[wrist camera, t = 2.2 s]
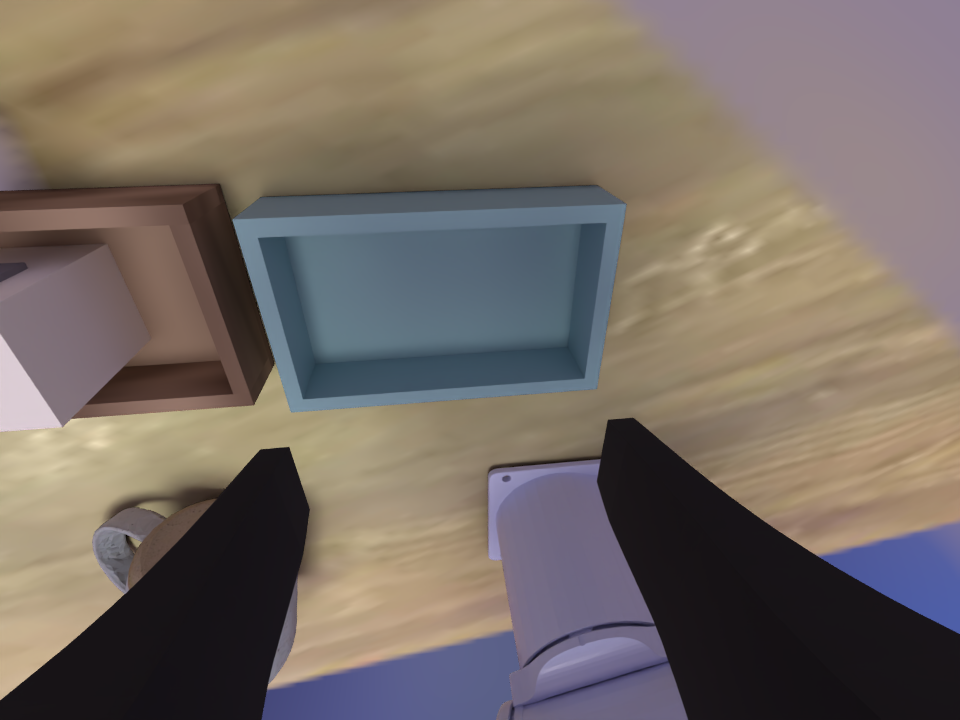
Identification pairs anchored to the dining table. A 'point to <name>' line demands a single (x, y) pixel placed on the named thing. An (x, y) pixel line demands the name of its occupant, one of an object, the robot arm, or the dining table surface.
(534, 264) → the teal tray
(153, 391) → the walnut tray
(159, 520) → the ceramic mug
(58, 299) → the letter block
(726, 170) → the dining table surface
